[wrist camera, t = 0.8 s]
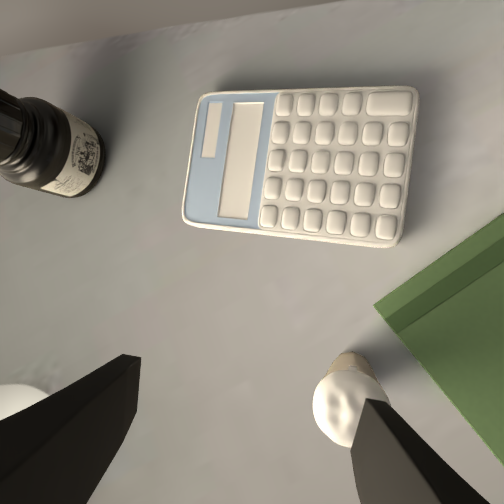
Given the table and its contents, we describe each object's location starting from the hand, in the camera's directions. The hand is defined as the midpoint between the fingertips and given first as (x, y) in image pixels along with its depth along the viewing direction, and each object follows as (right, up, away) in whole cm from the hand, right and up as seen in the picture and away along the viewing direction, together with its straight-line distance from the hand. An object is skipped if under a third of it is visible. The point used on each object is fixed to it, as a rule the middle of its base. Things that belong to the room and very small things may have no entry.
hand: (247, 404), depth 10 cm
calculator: (+4, +13, +20) cm, 24 cm away
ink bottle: (-20, +15, +28) cm, 38 cm away
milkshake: (+9, -5, +17) cm, 20 cm away
